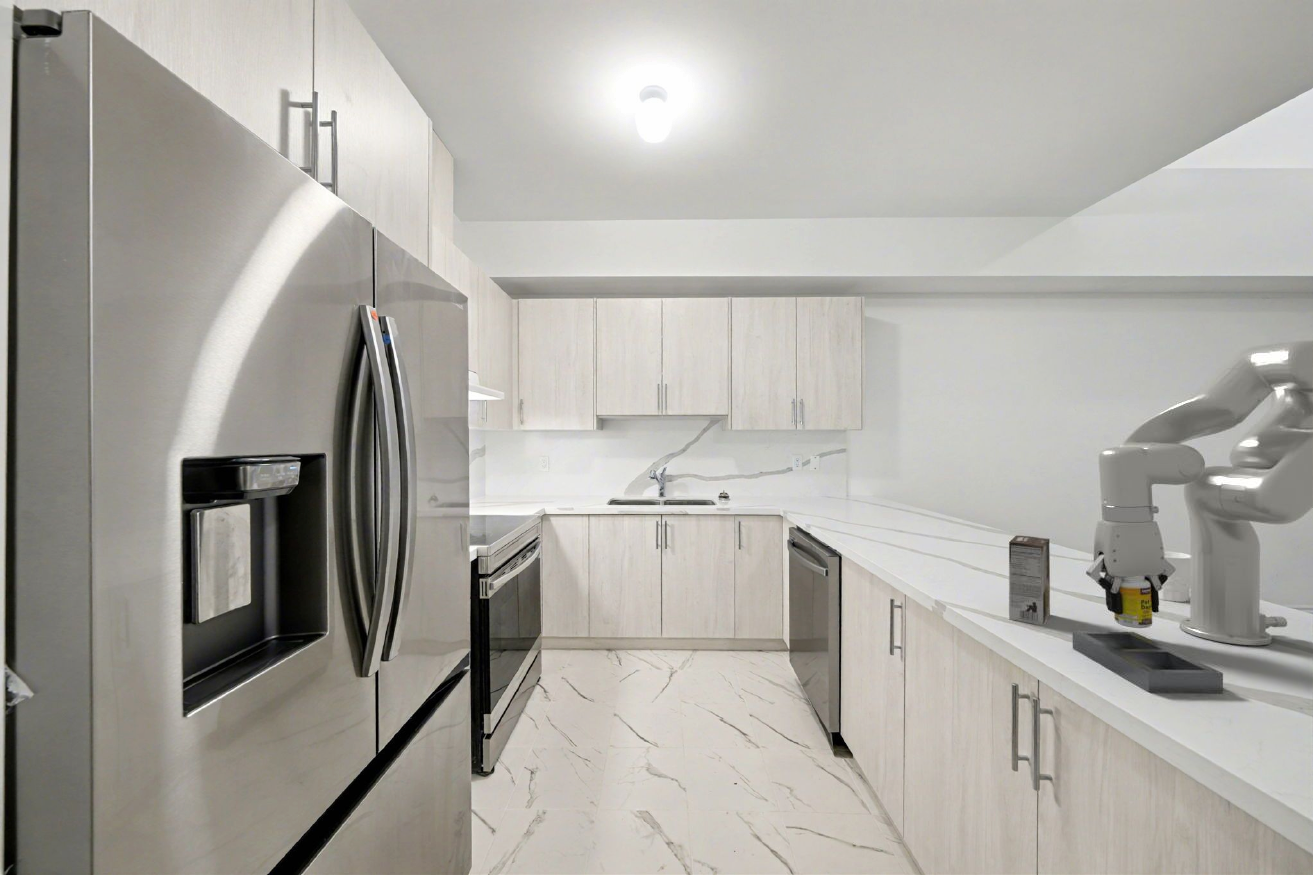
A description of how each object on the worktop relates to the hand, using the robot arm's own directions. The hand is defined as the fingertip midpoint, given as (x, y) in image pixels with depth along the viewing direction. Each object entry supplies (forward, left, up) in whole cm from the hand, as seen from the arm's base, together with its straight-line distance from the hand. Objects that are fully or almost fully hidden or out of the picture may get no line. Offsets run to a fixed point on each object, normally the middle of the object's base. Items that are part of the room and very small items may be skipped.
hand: (1132, 610), depth 113 cm
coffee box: (+12, -13, -6) cm, 18 cm away
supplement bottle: (0, 0, -3) cm, 3 cm away
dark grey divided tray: (+9, +14, -5) cm, 18 cm away
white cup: (-27, -28, -6) cm, 39 cm away
